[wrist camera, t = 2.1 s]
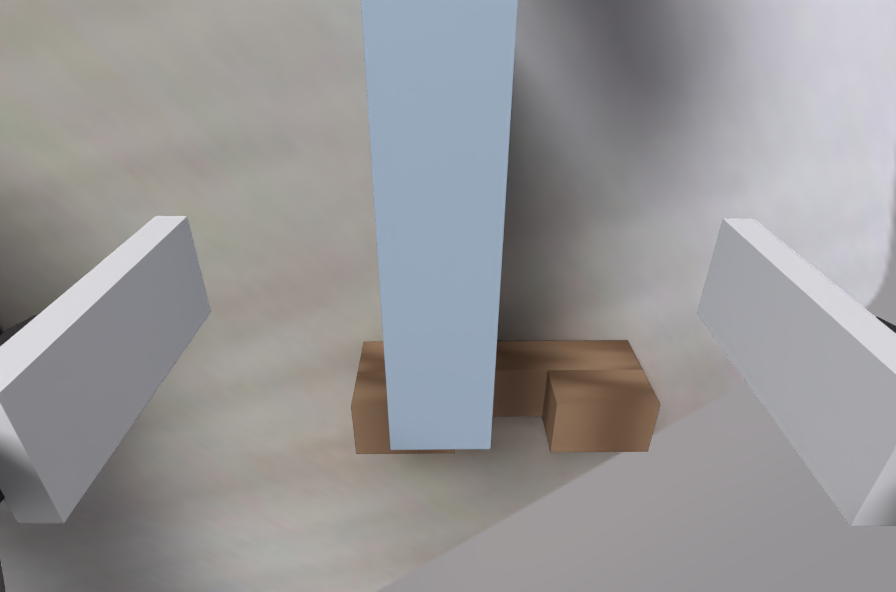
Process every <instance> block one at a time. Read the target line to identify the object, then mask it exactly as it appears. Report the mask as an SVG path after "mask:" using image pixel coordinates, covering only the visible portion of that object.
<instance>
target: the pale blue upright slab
mask: <svg viewBox="0 0 896 592" xmlns="http://www.w3.org/2000/svg"><path fill="white" fill-rule="evenodd" d="M517 5H518V0H361V9H362V24H363V39H364V55H365V70H366V85H367V100H368V115H369V130H370V145H371V161H372V176H373V191H374V206H375V221H376V236H377V251H378V267H379V282H380V297H381V312H382V327H383V342H384V358H385V373H386V388H387V403H388V418H389V433H390V448H391V450H426V449H490V447H491V430H492V414H493V398H494V381H495V365H496V348H497V332H498V316H499V299H500V283H501V267H502V250H503V234H504V217H505V201H506V185H507V168H508V152H509V136H510V119H511V103H512V87H513V70H514V54H515V37H516V21H517Z"/></svg>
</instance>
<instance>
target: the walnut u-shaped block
mask: <svg viewBox="0 0 896 592" xmlns="http://www.w3.org/2000/svg"><path fill="white" fill-rule="evenodd" d="M659 407H660V402H659V400H658V398H657V396H656V394H655V393H654V391H653V389H652V387H651V385H650V383H649V381H648V379H647V377H646V375H645V373H644V371H643V369H642V367H641V365H640V363H639V361H638V359H637V357H636V355H635V354H634V352H633V350H632V348H631V346H630V344H629V342H628V340H603V341H497V348H496V365H495V381H494V398H493V414H492V416H542V418H543V422H544V426H545V431H546V435H547V439H548V444H549V448H550V452H641V451H642V452H643V451H644V452H645V451H648V449H649V445H650V441H651V438H652V434H653V430H654V426H655V422H656V419H657V415H658V411H659ZM351 411H352V420H353V429H354V438H355V447H356V454H411V453H455V449H426V450H391V448H390V433H389V418H388V403H387V388H386V373H385V358H384V342H364V343H363V348H362V353H361V358H360V363H359V368H358V373H357V378H356V383H355V388H354V393H353V398H352V403H351Z"/></svg>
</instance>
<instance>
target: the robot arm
mask: <svg viewBox="0 0 896 592" xmlns="http://www.w3.org/2000/svg"><path fill="white" fill-rule="evenodd" d="M210 312H211V310H210V306H209V302H208V298H207V294H206V290H205V286H204V282H203V278H202V274H201V270H200V266H199V262H198V258H197V254H196V250H195V246H194V242H193V238H192V234H191V230H190V226H189V222H188V218H187V216H155V217H154V218H153V219H152V220H150V221H149V222H148V223H147V224H146V225H144V226H143V227H142V228H141V229H140V230H139V231H137V232H136V233H135V234H134V235H133V236H131V237H130V238H129V239H128V240H127V241H125V242H124V243H123V244H122V245H121V246H119V247H118V248H117V249H116V250H115V251H114V252H112V253H111V254H110V255H109V256H108V257H106V258H105V259H104V260H103V261H102V262H100V263H99V264H98V265H97V266H96V267H94V268H93V269H92V270H91V271H90V272H89V273H87V274H86V275H85V276H84V277H83V278H81V279H80V280H79V281H78V282H77V283H75V284H74V285H73V286H72V287H71V288H69V289H68V290H67V291H66V292H65V293H64V294H62V295H61V296H60V297H59V298H58V299H56V300H55V301H54V302H53V303H52V304H50V305H49V306H48V307H47V308H46V309H45V310H43V311H42V312H41V313H40V314H39V315H35V316H33V317H31V318H29V319H27V320H25V321H23V322H21V323H19V324H17V325H15V326H13V327H11V328H9V329H8V330H6V331H5V332H4V333H3V334H0V503H1V501H2V500H3V499H4V501H5V502H6V504H7V506H8V508H9V509H10V511H11V513H12V514H13V516H14V518H15V519H16V521H17V523H65V521H66V520H67V518H68V517H69V516H70V514H71V513H72V511H73V510H74V508H75V507H76V505H77V504H78V503H79V501H80V500H81V498H82V497H83V495H84V494H85V492H86V491H87V490H88V488H89V487H90V485H91V484H92V482H93V481H94V480H95V478H96V477H97V475H98V474H99V472H100V471H101V469H102V468H103V467H104V465H105V464H106V462H107V461H108V459H109V458H110V456H111V455H112V454H113V452H114V451H115V449H116V448H117V446H118V445H119V444H120V442H121V441H122V439H123V438H124V436H125V435H126V433H127V432H128V431H129V429H130V428H131V426H132V425H133V423H134V422H135V420H136V419H137V418H138V416H139V415H140V413H141V412H142V410H143V409H144V407H145V406H146V405H147V403H148V402H149V400H150V399H151V397H152V396H153V395H154V393H155V392H156V390H157V389H158V387H159V386H160V384H161V383H162V382H163V380H164V379H165V377H166V376H167V374H168V373H169V371H170V370H171V369H172V367H173V366H174V364H175V363H176V361H177V360H178V359H179V357H180V356H181V354H182V353H183V351H184V350H185V348H186V347H187V346H188V344H189V343H190V341H191V340H192V338H193V337H194V335H195V334H196V333H197V331H198V330H199V328H200V327H201V325H202V324H203V322H204V321H205V320H206V318H207V317H208V315H209V314H210ZM697 315H698V316H699V318H700V319H701V320H702V322H703V323H704V325H705V326H706V327H707V329H708V330H709V331H710V333H711V334H712V336H713V337H714V338H715V340H716V341H717V342H718V344H719V345H720V347H721V348H722V349H723V351H724V352H725V353H726V355H727V356H728V358H729V359H730V360H731V362H732V363H733V364H734V366H735V367H736V369H737V370H738V371H739V373H740V374H741V375H742V377H743V378H744V380H745V381H746V382H747V384H748V385H749V386H750V388H751V389H752V391H753V392H754V393H755V395H756V396H757V397H758V399H759V400H760V401H761V403H762V404H763V405H764V407H765V408H766V410H767V411H768V413H769V414H770V415H771V417H772V418H773V419H774V421H775V422H776V424H777V425H778V426H779V428H780V429H781V431H782V432H783V433H784V434H785V436H786V437H787V439H788V440H789V441H790V443H791V444H792V445H793V447H794V448H795V450H796V451H797V453H798V454H799V455H800V457H801V458H802V459H803V461H804V462H805V464H806V465H807V466H808V468H809V469H810V470H811V472H812V473H813V474H814V476H815V477H816V479H817V480H818V481H819V483H820V484H821V486H822V487H823V488H824V490H825V491H826V492H827V494H828V495H829V497H830V498H831V499H832V501H833V502H834V503H835V505H836V506H837V508H838V509H839V510H840V512H841V513H842V514H843V516H844V517H845V518H846V520H847V521H848V523H849V524H850V525H851V526H896V326H895V325H893V324H891V323H889V322H887V321H885V320H883V319H881V318H879V317H875V316H873V315H872V314H871V313H870V312H869V311H867V310H866V309H865V308H864V307H862V306H861V305H860V304H859V303H857V302H856V301H855V300H854V299H852V298H851V297H850V296H849V295H848V294H846V293H845V292H844V291H843V290H841V289H840V288H839V287H838V286H836V285H835V284H834V283H833V282H831V281H830V280H829V279H828V278H827V277H825V276H824V275H823V274H822V273H820V272H819V271H818V270H817V269H815V268H814V267H813V266H812V265H810V264H809V263H808V262H807V261H805V260H804V259H803V258H802V257H801V256H799V255H798V254H797V253H796V252H794V251H793V250H792V249H791V248H789V247H788V246H787V245H786V244H784V243H783V242H782V241H781V240H780V239H778V238H777V237H776V236H775V235H773V234H772V233H771V232H770V231H768V230H767V229H766V228H765V227H763V226H762V225H761V224H760V223H759V222H757V221H756V220H755V219H723V220H722V223H721V227H720V230H719V234H718V238H717V241H716V245H715V249H714V252H713V256H712V260H711V263H710V267H709V270H708V274H707V278H706V281H705V285H704V289H703V292H702V296H701V300H700V303H699V307H698V311H697ZM0 592H5V586H4V580H3V573H2V567H1V561H0Z"/></svg>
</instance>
